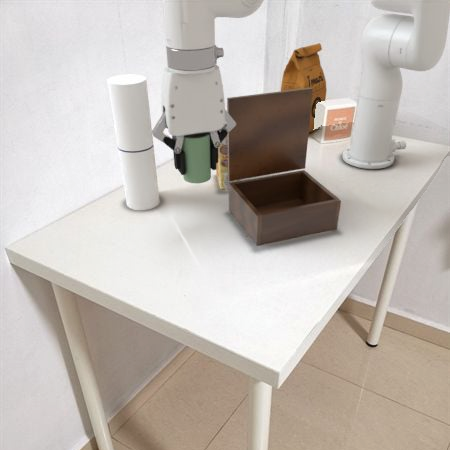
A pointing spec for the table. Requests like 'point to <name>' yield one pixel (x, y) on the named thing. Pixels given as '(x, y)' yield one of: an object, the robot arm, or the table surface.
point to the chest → (283, 207)
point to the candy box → (223, 165)
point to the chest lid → (268, 133)
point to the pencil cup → (197, 157)
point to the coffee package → (306, 76)
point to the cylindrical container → (134, 139)
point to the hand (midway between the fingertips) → (196, 168)
